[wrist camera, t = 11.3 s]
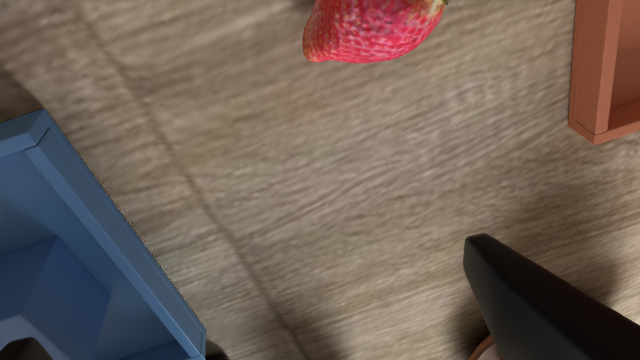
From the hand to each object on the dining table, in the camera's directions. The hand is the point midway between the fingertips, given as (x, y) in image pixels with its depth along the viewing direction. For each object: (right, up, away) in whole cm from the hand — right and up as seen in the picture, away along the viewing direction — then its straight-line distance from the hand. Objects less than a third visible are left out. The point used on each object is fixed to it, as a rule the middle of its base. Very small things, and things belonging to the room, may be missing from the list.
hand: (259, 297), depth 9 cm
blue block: (-12, -2, +12) cm, 17 cm away
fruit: (+3, +10, +8) cm, 13 cm away
